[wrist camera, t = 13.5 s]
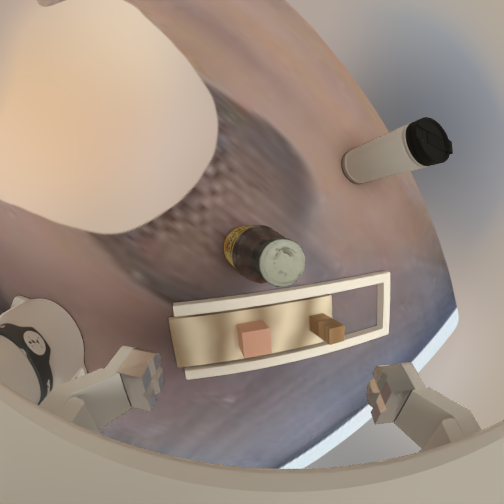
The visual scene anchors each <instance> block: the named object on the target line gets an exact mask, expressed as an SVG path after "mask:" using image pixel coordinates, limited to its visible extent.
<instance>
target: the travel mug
mask: <svg viewBox="0 0 504 504" xmlns="http://www.w3.org/2000/svg"><path fill="white" fill-rule="evenodd" d="M452 153H453V152H452V142H451V141H450V140H448V137H447V134H446V133H445V131H444V129H443V128H442V127H441V126H440V124H439V123H437V122H436V121H435V120H433V119H431V118H427V117H426V118H422V119H419V120H417V121H415V122H412V123H409V124H407V125H404V126H402V127H400V128H398V129H396V130H393V131H391V132H389V133H387V134H384V135H382V136H380V137H378V138H376V139H374V140H371V141H369V142H367V143H365V144H363V145H361V146H359V147H357V148H354V149H352V150H350V151H348V152H347V153H346V154H345V155H344V156H343V159H342V169H343V172H344V174H345V176H346V177H347V178H348V179H349V180H350V181H351V182H353V183H356V184H362V183H365V182H369V181H373V180H377V179H381V178H384V177H388V176H392V175H396V174H400V173H404V172H408V171H412V170H416V169H420V168H424V167H428V166H430V165H435V164H439V163H443V162H445V161H446V160H447V159H448V158H449V155H450V154H452Z"/></svg>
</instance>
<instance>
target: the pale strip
mask: <svg viewBox="0 0 504 504" xmlns="http://www.w3.org/2000/svg"><path fill="white" fill-rule="evenodd" d="M259 320H263V321H264V322H265V323H266V324H267V326H268V327H269V328H270V336H271V349H272V353H277V352H282V351H286V350H291V349H295V348H300V347H304V346H308V345H313V344H317V343H321V342H326V343H327V344H329V345H332V344H335V343H339V342H342V341H344V333H345V325H343V324H341V323H340V322H338V321H336V320H334V319H332V295H330V294H325V295H320V296H314V297H309V298H303V299H297V300H292V301H286V302H280V303H274V304H267V305H261V306H255V307H248V308H241V309H234V310H227V311H219V312H212V313H204V314H196V315H187V316H178V317H169V326H170V331H171V337H172V342H173V347H174V352H175V357H176V362H177V366H178V368H179V367H188V366H197V365H205V364H212V363H219V362H226V361H232V360H239V359H245V358H244V356H243V354H242V352H241V350H240V348H239V339H238V331H237V324H240V323H247V322H253V321H259ZM272 353H271V354H272ZM266 355H267V354H266Z"/></svg>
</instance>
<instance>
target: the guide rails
mask: <svg viewBox="0 0 504 504" xmlns="http://www.w3.org/2000/svg"><path fill="white" fill-rule="evenodd" d="M373 284H377V326H374V327H370V328H367V329H364V330H360V331H357V332H353V333H350V334H346V335H344V341H342V342H339V343H335V344H332V345H329V344H327V343H326V342H321V343H317V344H313V345H308V346H304V347H300V348H295V349H291V350H286V351H282V352H277V353H272V354H267V355H261V356H256V357H250V358H245V359H239V360H232V361H226V362H219V363H212V364H205V365H197V366H188V367H185V375H186V379H187V380H188V379H197V378H205V377H212V376H219V375H226V374H232V373H239V372H244V371H250V370H255V369H261V368H266V367H271V366H276V365H280V364H285V363H289V362H294V361H298V360H302V359H306V358H310V357H314V356H318V355H322V354H325V353H329V352H333V351H336V350H340V349H343V348H347V347H350V346H353V345H356V344H360V343H363V342H366V341H369V340H372V339H375V338H378V337H381V336H384V335H387V334H388V333H389V314H390V272H386V271H381V272H376V273H371V274H365V275H360V276H355V277H349V278H344V279H338V280H332V281H326V282H321V283H315V284H309V285H302V286H296V287H290V288H283V289H277V290H270V291H263V292H256V293H249V294H242V295H235V296H227V297H220V298H212V299H203V300H195V301H187V302H178V303H173V311H174V317H178V316H187V315H195V314H203V313H211V312H219V311H226V310H234V309H241V308H248V307H254V306H261V305H267V304H273V303H280V302H286V301H291V300H297V299H303V298H308V297H314V296H319V295H325V294H330V293H335V292H340V291H345V290H350V289H355V288H359V287H364V286H369V285H373Z"/></svg>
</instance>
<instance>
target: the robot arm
mask: <svg viewBox="0 0 504 504" xmlns="http://www.w3.org/2000/svg"><path fill="white" fill-rule="evenodd" d="M160 363H161V356H160V354H159V353H158V352H153V351H148V350H144V349H139V348H134V347H130V346H125V345H124V346H122V347H121V348H120V349H119V350H118V352H117V353H116V354H115V356H114V357H113V358H112V360H111V361H110V362H109V363H108V365H107V366H106V367H105V369H102V368H100V369H98V370H96V371H93V372H91V373H87V370H86V367H85V364H84V344H83V340H82V336H81V333H80V331H79V329H78V327H77V325H76V323H75V322H74V320H73V319H72V317H71V316H70V315H69V314H68V313H67V312H66V311H65V310H64V309H63V308H62V307H61V306H59V305H58V304H56V303H55V302H53V301H50V300H47V299H41V298H40V299H28V298H26V297H23V296H17V297H15V298H14V300H13V302H12V305H11V308H10V309H9V310H7V311H6V312H4V313H3V314H1V315H0V504H504V420H503V421H501V422H499V423H497V424H495V425H492V426H490V427H488V428H486V429H484V430H481V428H480V427H479V425H478V423H477V421H476V420H475V418H474V416H473V415H472V413H471V411H470V410H468V409H466V408H464V407H463V406H461V405H459V404H457V403H456V402H454V401H452V400H450V399H449V398H447V397H445V396H443V395H442V394H440V393H438V392H437V391H435V390H433V389H431V388H430V387H428V388H426V386H425V385H424V383H423V381H422V379H421V378H420V376H419V374H418V372H417V371H416V369H415V367H414V366H413V364H412V363H410V362H408V363H400V364H392V365H379V366H376V367H375V368H374V371H373V373H372V374H373V376H374V378H373V379H372V380H371V381H370V382H369V384H368V386H367V392H366V397H367V402H368V404H369V405H370V406H372V407H373V409H372V411H371V414H372V417H373V420H374V423H375V424H383V423H391V422H394V424H396V425H397V426H398V427H399V428H400V429H401V430H402V431H403V432H404V433H405V434H406V435H408V436H409V437H410V438H411V439H412V440H413V441H414V442H415V443H416V444H417V445H419V446H420V447H421V448H422V449H421V450H420V451H419V452H418V453H414V454H410V455H406V456H402V457H397V458H392V459H387V460H383V461H377V462H371V463H365V464H357V465H349V466H340V467H329V468H312V469H266V468H249V467H238V466H228V465H220V464H213V463H206V462H200V461H195V460H189V459H184V458H179V457H175V456H170V455H166V454H162V453H158V452H154V451H150V450H147V449H143V448H140V447H136V446H133V445H130V444H127V443H124V442H121V441H118V440H115V439H112V438H109V437H107V436H104V435H101V433H100V431H99V429H100V428H102V427H103V426H105V425H106V424H108V423H109V422H111V421H112V420H114V419H116V418H117V417H119V416H120V415H122V414H123V413H124V412H126V411H127V410H129V409H130V408H131V407H133V408H138V409H142V410H146V411H152V409H153V407H154V405H155V402H156V400H157V399H156V394H158V393H159V392H161V389H162V387H163V383H164V371H163V369H162V368H161V367H160V366H159V365H160ZM76 377H77V378H76Z"/></svg>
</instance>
